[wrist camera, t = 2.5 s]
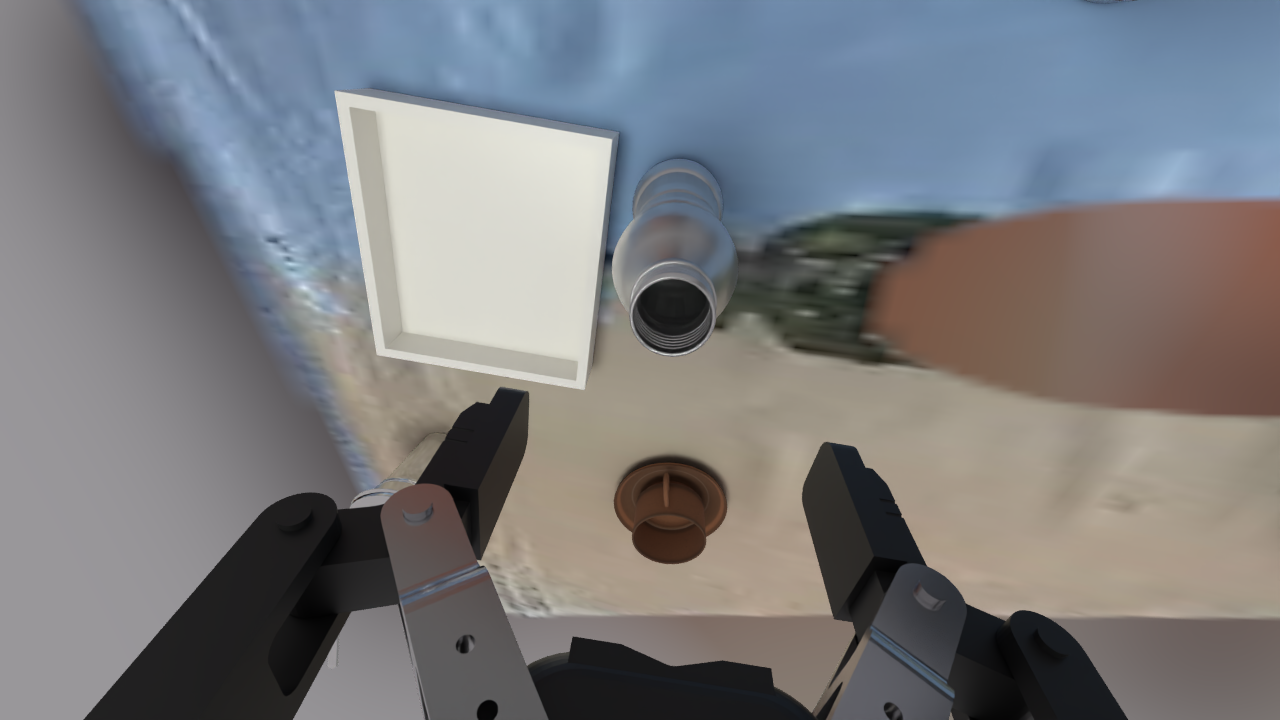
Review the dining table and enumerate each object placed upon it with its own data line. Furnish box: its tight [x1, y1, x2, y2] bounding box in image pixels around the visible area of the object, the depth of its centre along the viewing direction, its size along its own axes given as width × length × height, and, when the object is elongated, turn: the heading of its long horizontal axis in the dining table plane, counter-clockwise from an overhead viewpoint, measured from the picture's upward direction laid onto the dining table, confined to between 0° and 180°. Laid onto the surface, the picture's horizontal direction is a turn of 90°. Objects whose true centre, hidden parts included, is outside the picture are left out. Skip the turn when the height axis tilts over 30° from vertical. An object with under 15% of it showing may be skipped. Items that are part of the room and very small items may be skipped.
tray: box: [335, 88, 619, 390], centre depth 38 cm, size 20×18×4 cm
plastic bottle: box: [612, 158, 738, 357], centre depth 28 cm, size 6×7×20 cm
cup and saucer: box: [614, 463, 727, 564], centre depth 51 cm, size 12×12×6 cm
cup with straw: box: [328, 433, 447, 669], centre depth 44 cm, size 8×9×20 cm
